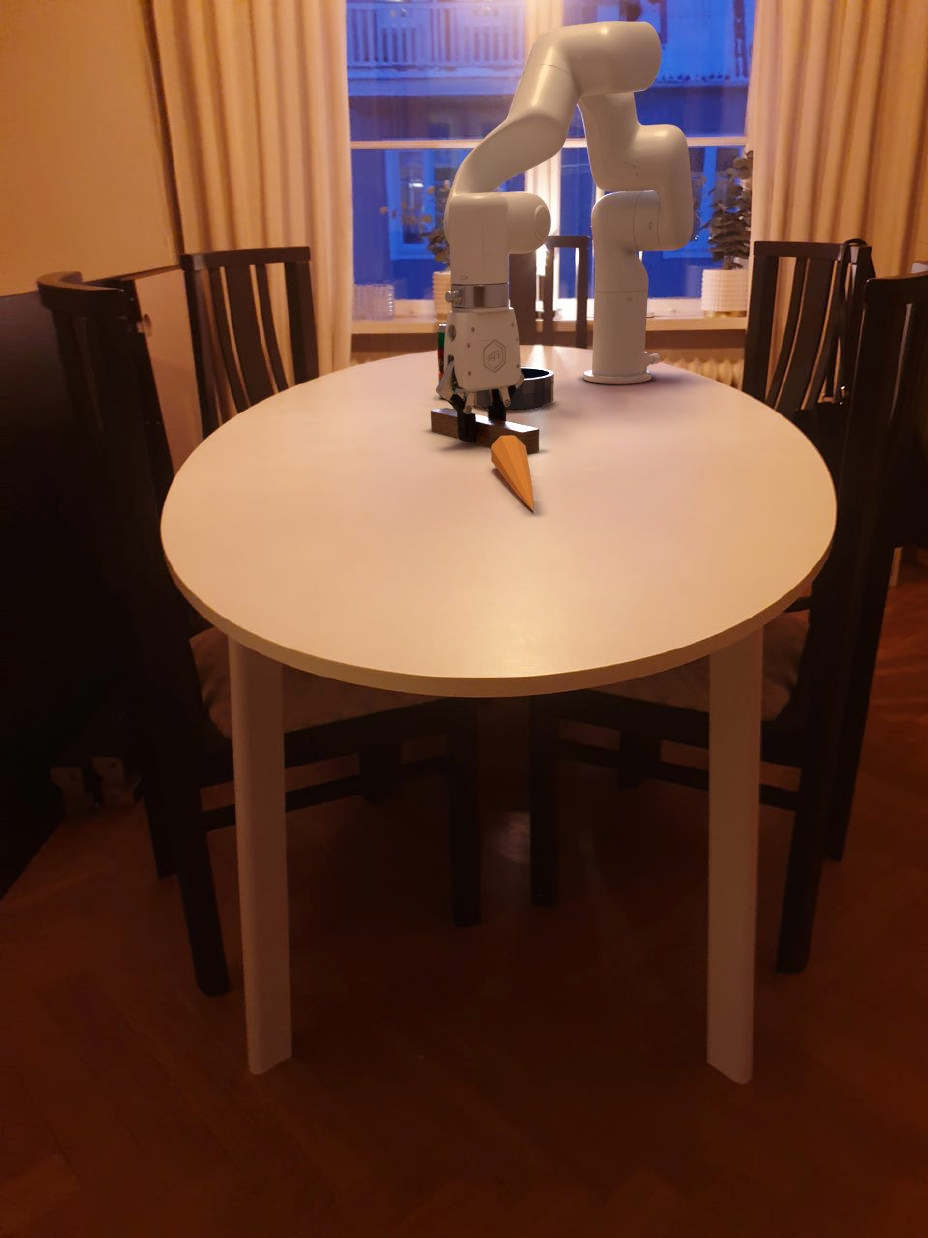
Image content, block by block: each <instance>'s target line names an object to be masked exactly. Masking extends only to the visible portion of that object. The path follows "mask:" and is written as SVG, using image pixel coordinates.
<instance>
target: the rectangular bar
mask: <svg viewBox="0 0 928 1238" xmlns="http://www.w3.org/2000/svg"><path fill="white" fill-rule="evenodd" d="M475 415H476V441H475V443H474V444H479V445H482V446H486V447H490V448H491V447H492V444H493V443H494V442H495V441H496V440H497V439H498V438H499V437H500V436H510V435H513V436H516V437H517V438H518V439H519V440H520V441H521V442H522V443H523V444H524V445H525V446H526V452H527V455H530V454H535V453H539V452H540V428H537V427H533V426H528V425H523V424H520V423H515V422H511V421H507V420H506V421H502V420H498V419H494V418H489V417H488V416H485V415H480V414H476V413H475ZM430 426H431V427H430V428H431V429H430V430H431V432H433V433H437V434H440V435H443V436H448V437H452V438H456V439H459V438H458V425H457V411H454V410H453V408H451V407H450V408H449V407H444V408H438V409H437V408H436V409H433V410H430Z"/></svg>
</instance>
